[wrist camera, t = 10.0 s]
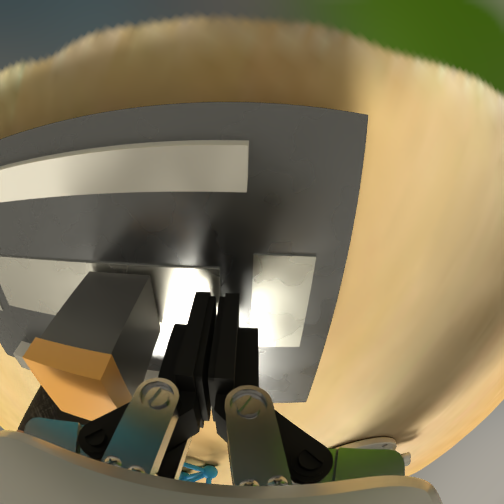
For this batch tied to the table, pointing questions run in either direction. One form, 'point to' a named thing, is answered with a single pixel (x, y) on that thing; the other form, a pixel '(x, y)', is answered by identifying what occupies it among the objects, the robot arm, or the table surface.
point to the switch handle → (97, 344)
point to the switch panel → (187, 220)
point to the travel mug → (47, 411)
